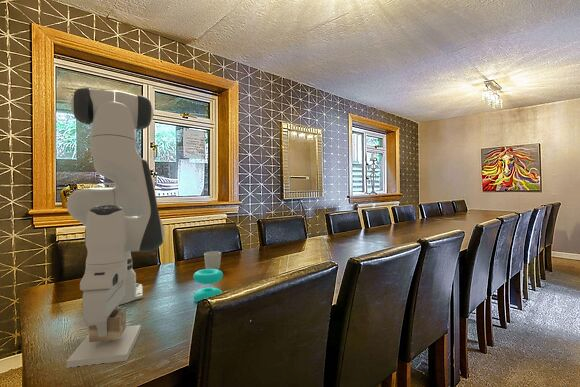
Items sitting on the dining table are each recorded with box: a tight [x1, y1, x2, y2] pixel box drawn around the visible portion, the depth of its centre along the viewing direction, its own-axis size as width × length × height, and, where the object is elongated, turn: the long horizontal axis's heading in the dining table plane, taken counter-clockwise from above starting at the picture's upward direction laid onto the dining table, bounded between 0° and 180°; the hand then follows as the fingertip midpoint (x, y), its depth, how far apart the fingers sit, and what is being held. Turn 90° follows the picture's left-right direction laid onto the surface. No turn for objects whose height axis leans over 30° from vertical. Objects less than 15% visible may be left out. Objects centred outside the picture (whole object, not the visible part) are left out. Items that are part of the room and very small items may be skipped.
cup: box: [203, 250, 222, 270], centre depth 154 cm, size 11×8×8 cm
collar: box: [88, 308, 127, 342], centre depth 79 cm, size 6×6×5 cm
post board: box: [65, 324, 142, 369], centre depth 79 cm, size 16×12×6 cm
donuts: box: [192, 268, 224, 303], centre depth 112 cm, size 10×10×10 cm
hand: (107, 328), depth 79 cm, fingers closed on collar, 6 cm apart
